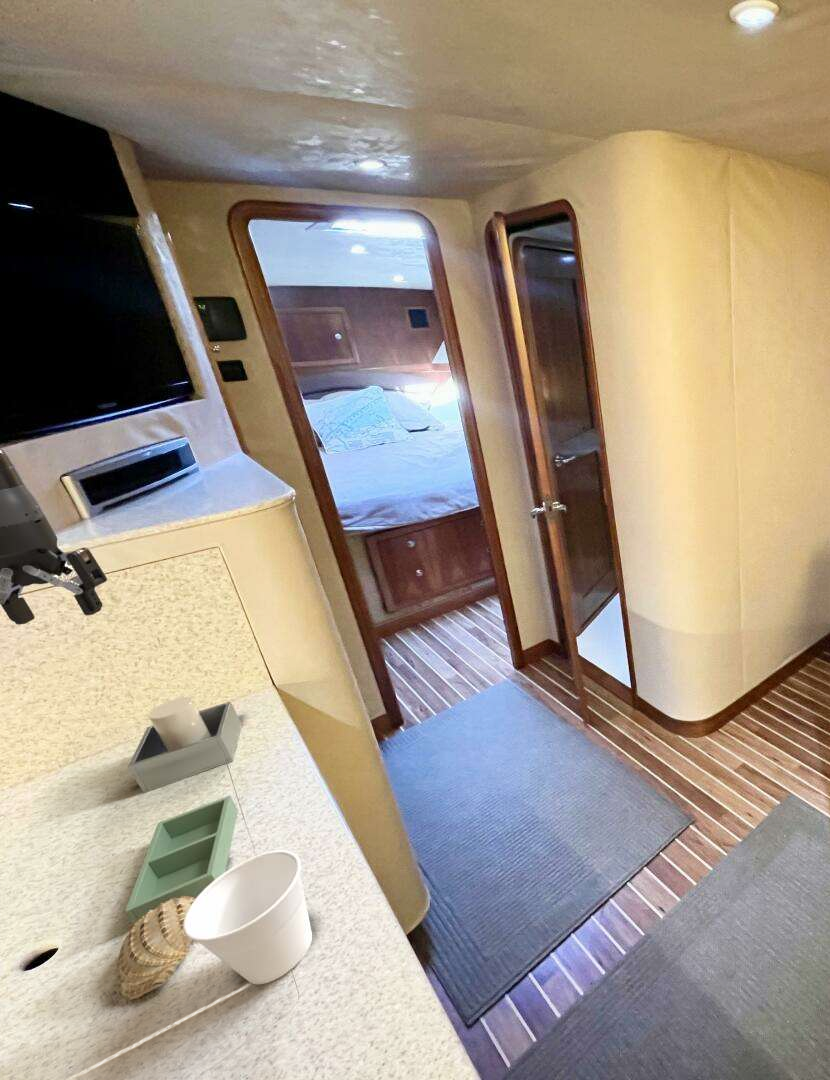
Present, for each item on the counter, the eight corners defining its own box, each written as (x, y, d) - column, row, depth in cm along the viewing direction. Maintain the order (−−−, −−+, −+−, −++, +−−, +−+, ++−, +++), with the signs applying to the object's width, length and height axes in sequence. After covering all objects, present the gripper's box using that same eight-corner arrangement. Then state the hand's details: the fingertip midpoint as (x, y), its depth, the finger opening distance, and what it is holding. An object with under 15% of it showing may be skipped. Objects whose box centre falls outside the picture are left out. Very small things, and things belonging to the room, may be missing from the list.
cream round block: (171, 770, 89) (143, 723, 85) (178, 751, 93) (152, 705, 89) (213, 756, 92) (188, 709, 88) (218, 738, 96) (195, 692, 92)
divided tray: (137, 931, 65) (124, 912, 64) (168, 840, 77) (157, 822, 76) (222, 892, 69) (211, 874, 68) (239, 812, 81) (230, 795, 80)
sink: (143, 793, 85) (127, 766, 83) (161, 751, 94) (147, 727, 92) (233, 761, 91) (220, 735, 89) (242, 725, 100) (230, 701, 98)
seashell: (227, 960, 64) (198, 891, 68) (213, 945, 60) (183, 873, 64) (137, 1021, 58) (111, 943, 62) (115, 1009, 55) (89, 926, 59)
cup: (229, 949, 62) (189, 885, 58) (329, 895, 68) (300, 834, 64) (220, 1030, 55) (174, 963, 51) (334, 962, 60) (301, 897, 56)
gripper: (-90, 535, 72) (-22, 638, 78) (40, 521, 75) (97, 621, 81) (-33, 517, 79) (26, 613, 85) (85, 505, 82) (133, 599, 88)
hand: (60, 617), depth 83 cm, fingers open, 8 cm apart
